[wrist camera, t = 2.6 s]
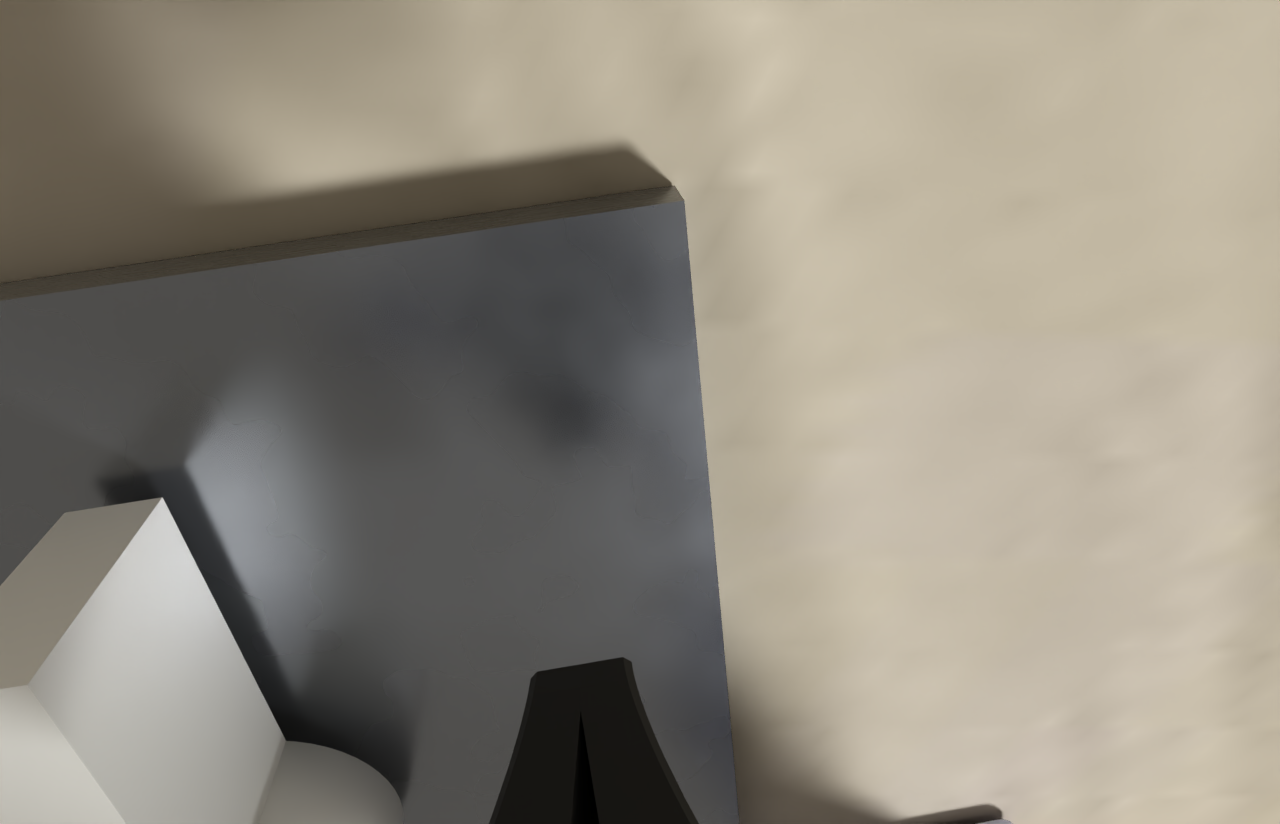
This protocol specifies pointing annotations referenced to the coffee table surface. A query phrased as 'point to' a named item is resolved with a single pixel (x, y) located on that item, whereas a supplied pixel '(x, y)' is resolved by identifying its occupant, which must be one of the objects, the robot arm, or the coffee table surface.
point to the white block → (147, 694)
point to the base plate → (406, 473)
